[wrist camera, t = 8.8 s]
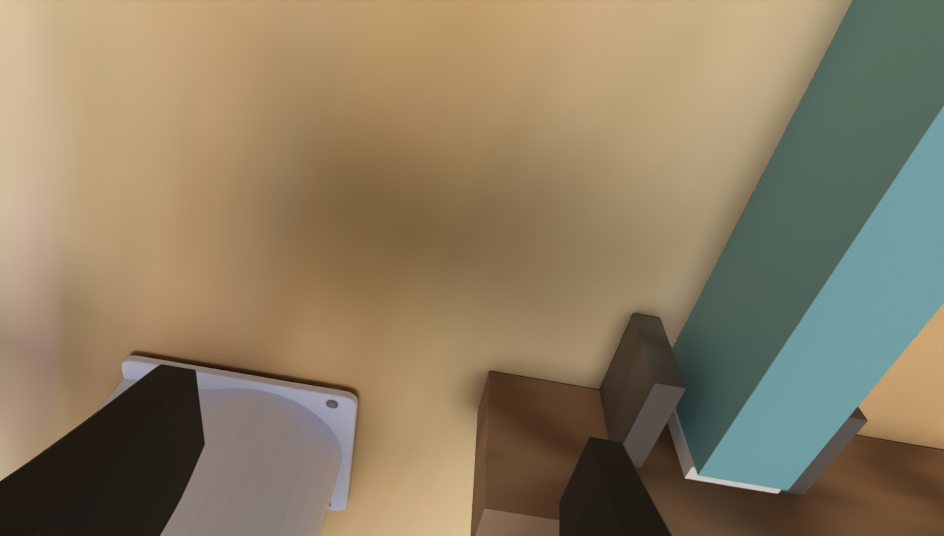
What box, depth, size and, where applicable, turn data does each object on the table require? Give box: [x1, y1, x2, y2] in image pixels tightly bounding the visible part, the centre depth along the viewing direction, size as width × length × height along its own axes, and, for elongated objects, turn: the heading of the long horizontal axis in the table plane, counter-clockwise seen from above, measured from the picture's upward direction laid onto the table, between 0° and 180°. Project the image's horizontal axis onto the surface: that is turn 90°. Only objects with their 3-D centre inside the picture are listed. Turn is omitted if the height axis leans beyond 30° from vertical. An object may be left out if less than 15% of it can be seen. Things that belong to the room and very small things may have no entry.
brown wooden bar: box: [471, 313, 944, 536], centre depth 20 cm, size 20×6×6 cm, turn 80°
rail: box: [667, 0, 944, 494], centre depth 16 cm, size 3×15×5 cm, turn 170°
